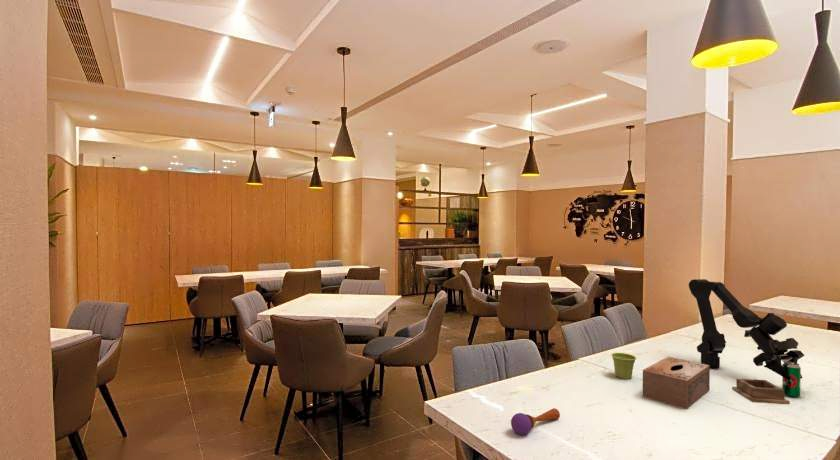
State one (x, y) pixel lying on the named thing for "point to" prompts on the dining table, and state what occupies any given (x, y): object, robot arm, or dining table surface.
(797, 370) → the soda can
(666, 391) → the tissue box cover
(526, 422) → the kendama
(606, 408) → the dining table surface
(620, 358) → the plant pot
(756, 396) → the socket block
